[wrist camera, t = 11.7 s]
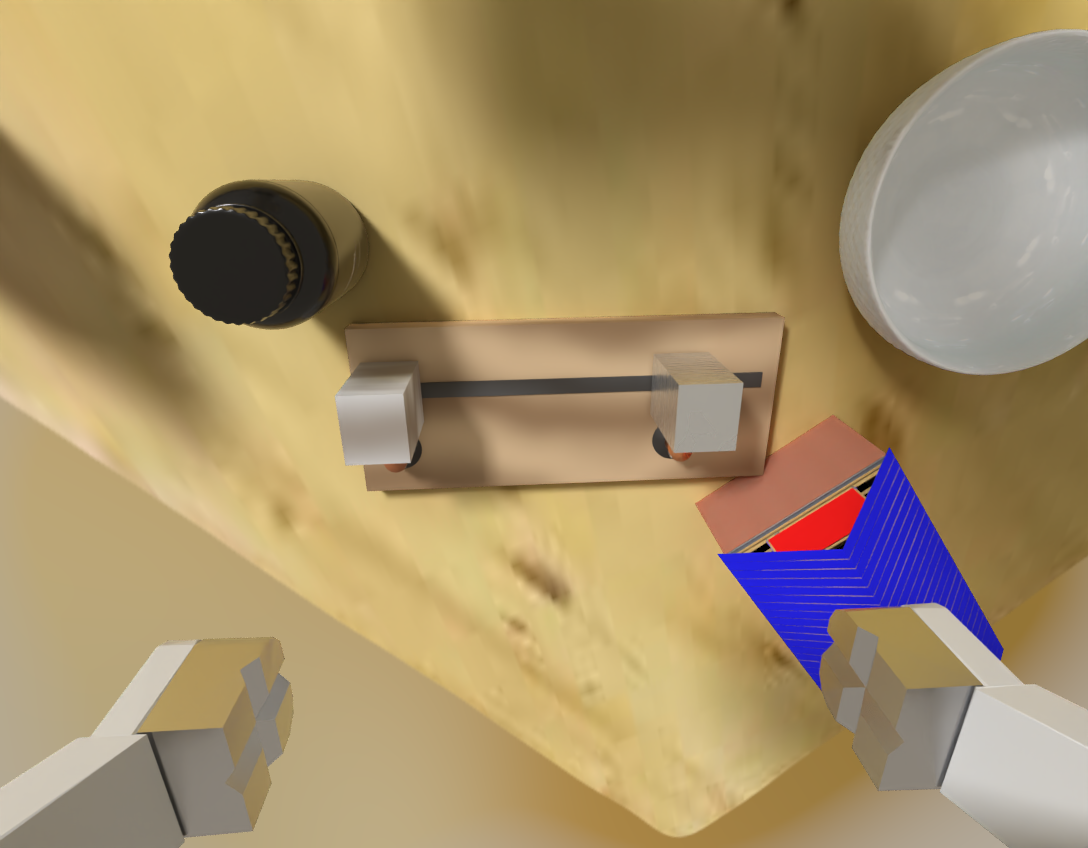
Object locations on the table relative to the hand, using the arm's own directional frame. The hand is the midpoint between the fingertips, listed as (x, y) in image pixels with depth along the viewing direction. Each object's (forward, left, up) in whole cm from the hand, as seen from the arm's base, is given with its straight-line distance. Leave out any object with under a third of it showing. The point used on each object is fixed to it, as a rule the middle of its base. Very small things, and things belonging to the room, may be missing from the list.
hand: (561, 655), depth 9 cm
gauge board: (+7, +3, -31) cm, 32 cm away
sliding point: (+7, +10, -29) cm, 32 cm away
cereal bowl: (-4, +26, -31) cm, 41 cm away
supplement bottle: (-3, -12, -31) cm, 34 cm away
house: (+20, +23, -32) cm, 44 cm away
